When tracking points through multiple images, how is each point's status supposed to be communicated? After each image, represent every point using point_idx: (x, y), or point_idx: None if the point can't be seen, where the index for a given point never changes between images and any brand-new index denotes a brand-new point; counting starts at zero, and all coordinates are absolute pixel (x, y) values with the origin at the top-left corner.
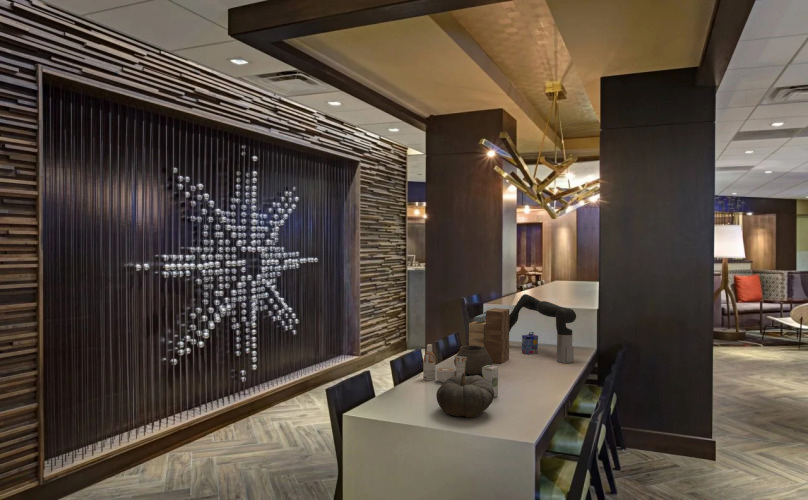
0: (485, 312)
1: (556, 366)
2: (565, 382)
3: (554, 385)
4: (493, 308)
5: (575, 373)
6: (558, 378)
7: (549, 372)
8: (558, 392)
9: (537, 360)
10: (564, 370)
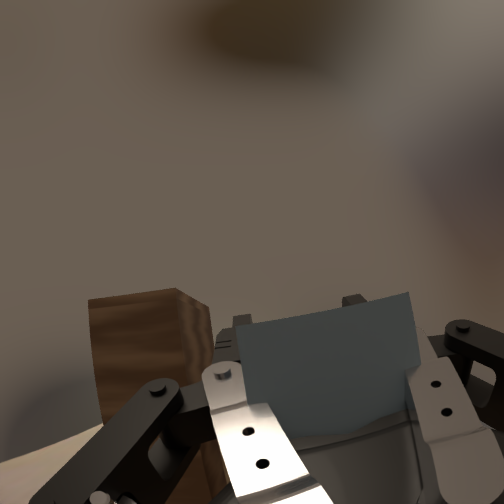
0: (345, 303)
1: (9, 490)
2: (65, 443)
3: (90, 438)
4: (180, 291)
5: (10, 461)
6: (64, 451)
7: (60, 468)
8: (98, 428)
9: None
10: (16, 472)
